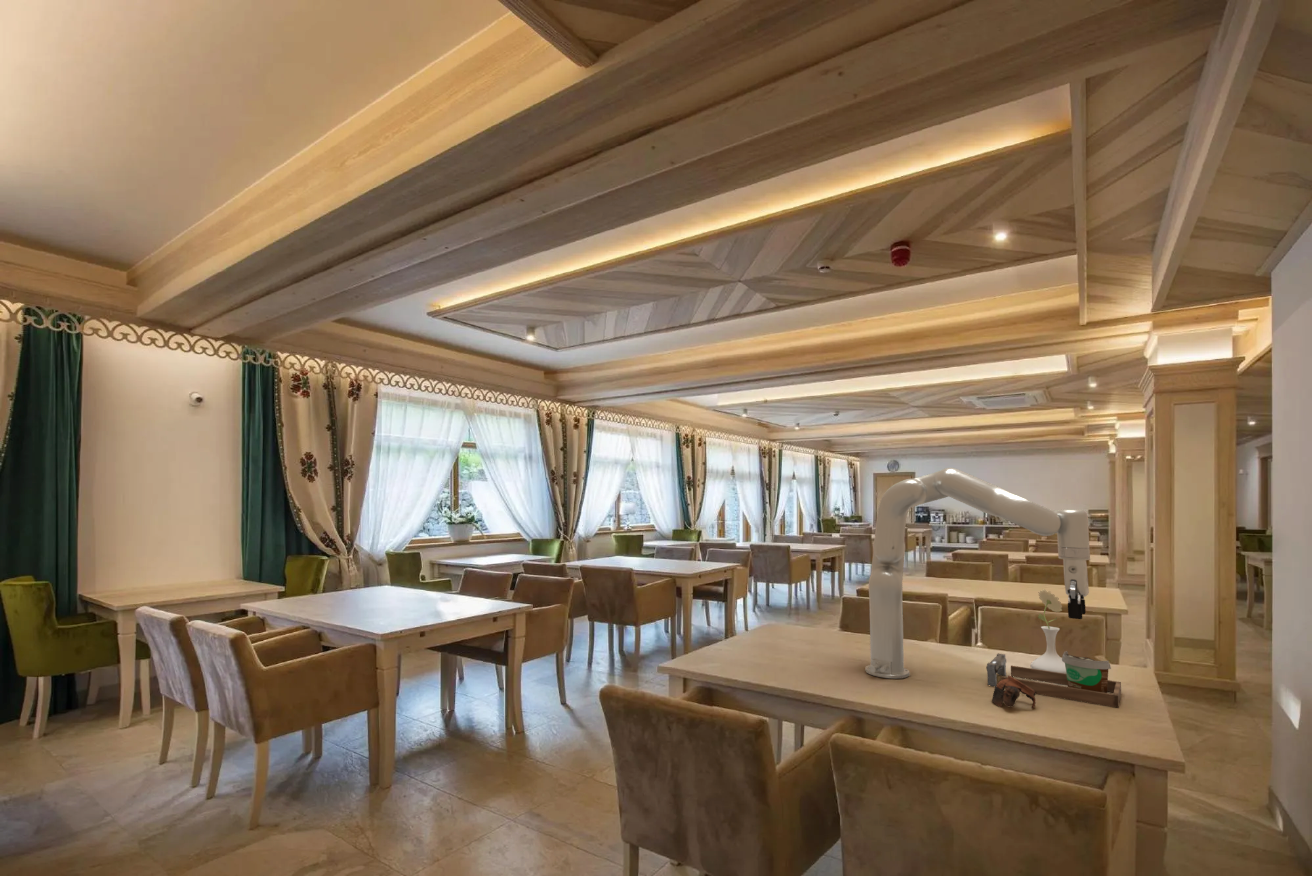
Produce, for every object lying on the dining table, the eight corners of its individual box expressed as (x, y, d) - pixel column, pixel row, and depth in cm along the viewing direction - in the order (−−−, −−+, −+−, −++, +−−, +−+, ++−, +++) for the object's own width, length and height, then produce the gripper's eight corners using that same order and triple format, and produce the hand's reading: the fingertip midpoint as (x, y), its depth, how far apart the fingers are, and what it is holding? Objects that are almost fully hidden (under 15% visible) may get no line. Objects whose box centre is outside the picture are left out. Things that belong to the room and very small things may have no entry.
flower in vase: (1080, 680, 192) (1077, 594, 194) (1038, 677, 195) (1035, 592, 197) (1062, 668, 205) (1059, 588, 207) (1023, 666, 207) (1020, 586, 209)
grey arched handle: (997, 687, 185) (996, 665, 185) (985, 685, 186) (985, 663, 187) (1009, 673, 199) (1008, 653, 200) (998, 671, 201) (997, 651, 202)
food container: (1052, 689, 183) (1051, 652, 184) (1066, 686, 186) (1065, 650, 187) (1098, 702, 172) (1096, 663, 173) (1112, 699, 175) (1110, 661, 176)
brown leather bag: (990, 699, 176) (1005, 672, 176) (1026, 722, 170) (1042, 695, 170) (985, 698, 166) (1002, 670, 166) (1024, 723, 160) (1040, 694, 160)
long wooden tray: (1118, 707, 168) (1117, 695, 168) (1001, 687, 184) (1000, 676, 184) (1121, 693, 180) (1120, 682, 180) (1011, 675, 197) (1011, 665, 197)
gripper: (1087, 556, 174) (1090, 622, 172) (1092, 552, 187) (1095, 613, 186) (1054, 555, 178) (1057, 619, 177) (1061, 550, 192) (1064, 610, 190)
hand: (1077, 615), depth 181 cm, fingers open, 9 cm apart
